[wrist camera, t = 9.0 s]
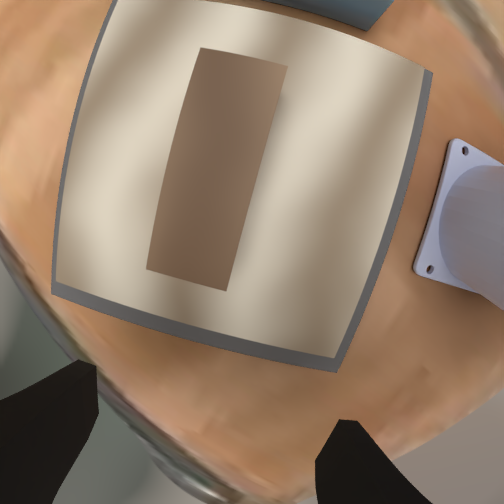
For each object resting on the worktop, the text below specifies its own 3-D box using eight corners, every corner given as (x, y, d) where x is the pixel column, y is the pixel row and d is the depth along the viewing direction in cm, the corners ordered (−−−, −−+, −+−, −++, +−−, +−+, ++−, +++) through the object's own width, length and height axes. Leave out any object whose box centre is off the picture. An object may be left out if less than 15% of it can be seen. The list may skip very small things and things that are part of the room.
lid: (416, 71, 13) (466, 46, 9) (330, 348, 18) (350, 405, 13) (126, 3, 13) (87, -38, 8) (64, 275, 17) (14, 309, 12)
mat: (428, 74, 14) (433, 72, 13) (335, 368, 18) (336, 372, 18) (117, 0, 13) (114, -3, 13) (55, 290, 18) (51, 293, 17)
